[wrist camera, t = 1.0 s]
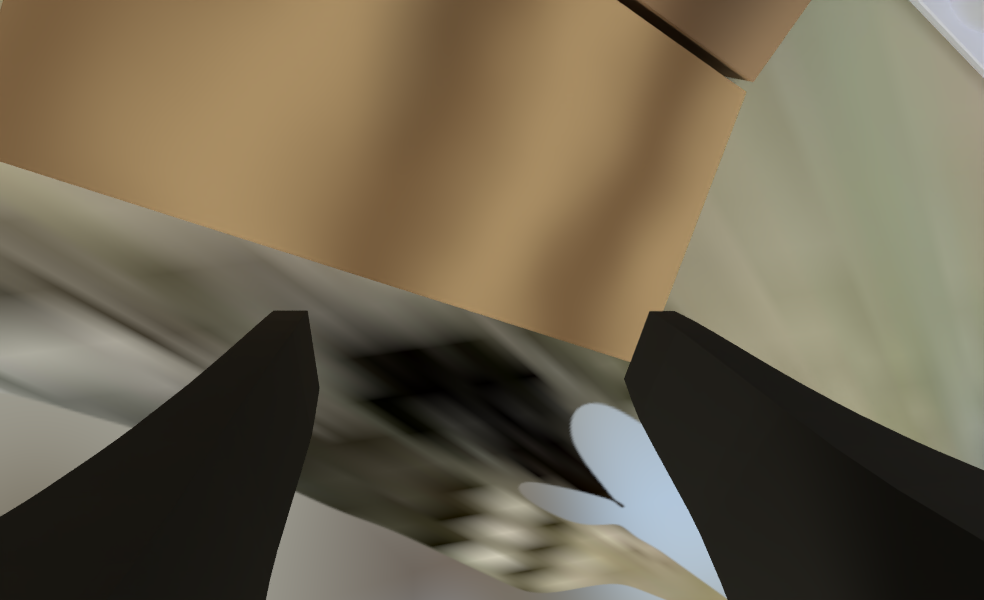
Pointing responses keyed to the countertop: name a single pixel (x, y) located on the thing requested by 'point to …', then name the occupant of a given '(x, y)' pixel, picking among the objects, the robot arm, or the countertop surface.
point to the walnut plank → (724, 29)
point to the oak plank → (391, 139)
